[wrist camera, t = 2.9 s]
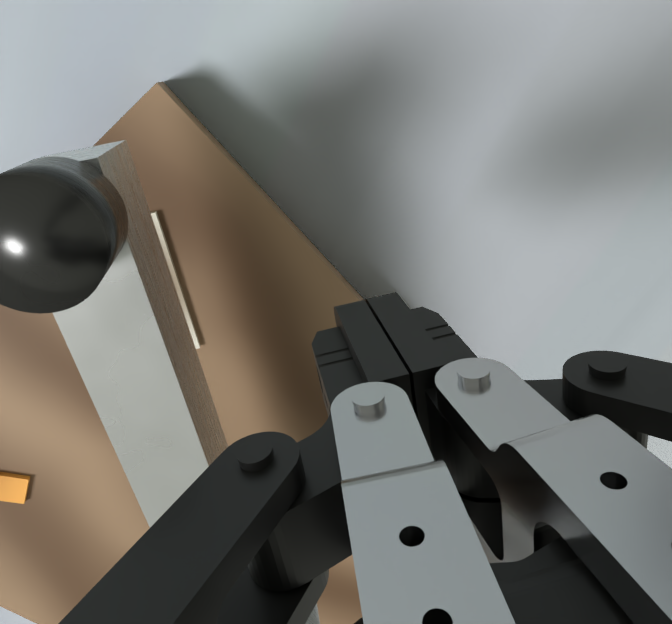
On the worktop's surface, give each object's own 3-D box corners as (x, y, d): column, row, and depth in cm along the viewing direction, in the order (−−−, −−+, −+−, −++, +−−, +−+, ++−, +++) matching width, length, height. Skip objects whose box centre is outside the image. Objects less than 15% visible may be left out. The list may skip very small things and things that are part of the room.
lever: (313, 549, 24) (346, 756, 17) (202, 579, 23) (187, 804, 16) (193, 110, 16) (156, 143, 9) (21, 145, 15) (-169, 209, 8)
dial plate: (163, 81, 17) (155, 82, 15) (565, 518, 28) (584, 543, 27) (-217, 458, 20) (-255, 491, 18) (287, 715, 31) (290, 748, 30)
